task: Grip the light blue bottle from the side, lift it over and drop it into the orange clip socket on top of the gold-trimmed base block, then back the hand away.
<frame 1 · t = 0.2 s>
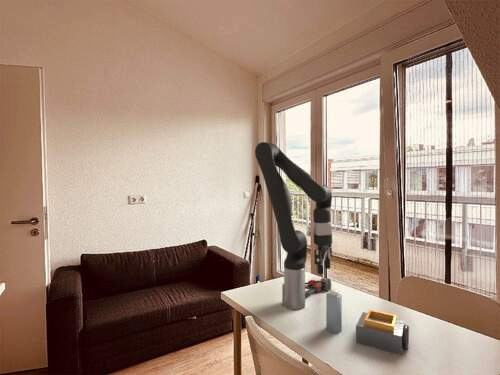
hand: (324, 271, 124), 18 cm above the table, tool pointing down, fingers open, 8 cm apart
valve: (310, 292, 149), on the table
gold-trimmed base block: (380, 340, 103), on the table
light blue bottle: (333, 329, 110), on the table
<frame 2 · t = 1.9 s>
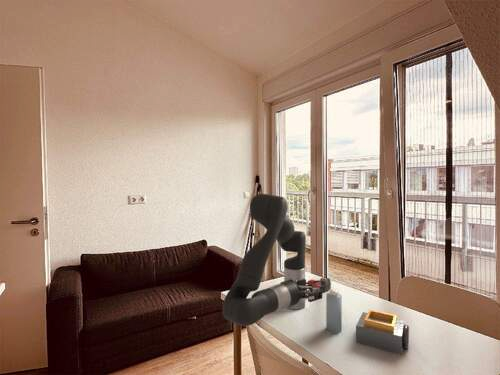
hand: (314, 285, 103), 19 cm above the table, tool horizontal, fingers open, 8 cm apart
nothing on the table moved.
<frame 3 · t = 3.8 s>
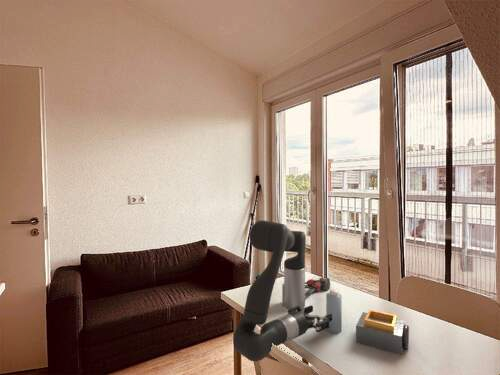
hand: (321, 312, 106), 8 cm above the table, tool horizontal, fingers open, 8 cm apart
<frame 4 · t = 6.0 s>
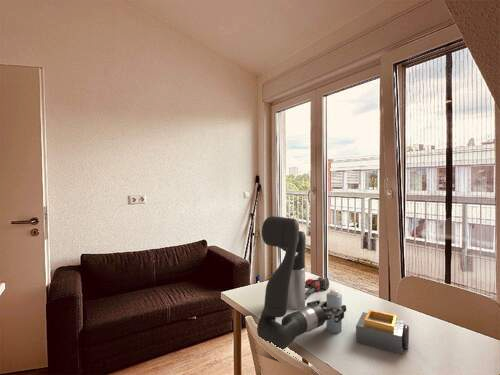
hand: (337, 305, 112), 9 cm above the table, tool horizontal, fingers closed on light blue bottle, 5 cm apart
light blue bottle: (333, 329, 110), on the table, touching gripper
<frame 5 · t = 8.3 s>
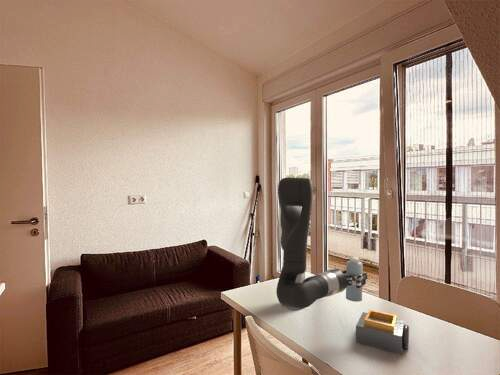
hand: (358, 273, 107), 22 cm above the table, tool horizontal, fingers closed on light blue bottle, 5 cm apart
light blue bottle: (353, 298, 106), point 13 cm above the table, touching gripper
when the fingers open (15 cm above the table, at t = 10.9 s): light blue bottle stays where it is, resting on gold-trimmed base block.
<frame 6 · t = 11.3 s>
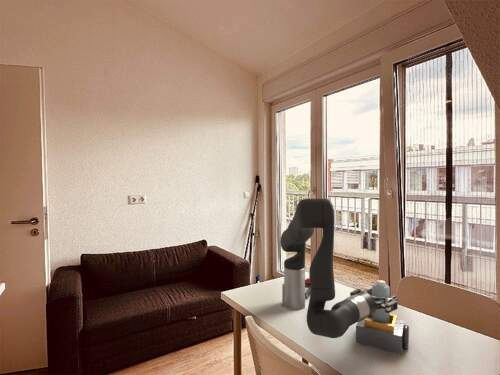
hand: (383, 294, 104), 15 cm above the table, tool horizontal, fingers open, 8 cm apart
light blue bottle: (380, 323, 103), point 6 cm above the table, touching gold-trimmed base block
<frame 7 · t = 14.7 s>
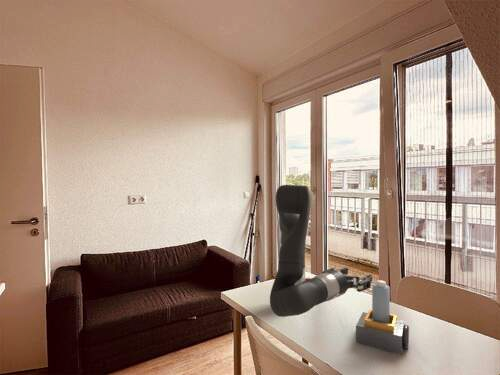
hand: (358, 273, 97), 25 cm above the table, tool horizontal, fingers open, 8 cm apart
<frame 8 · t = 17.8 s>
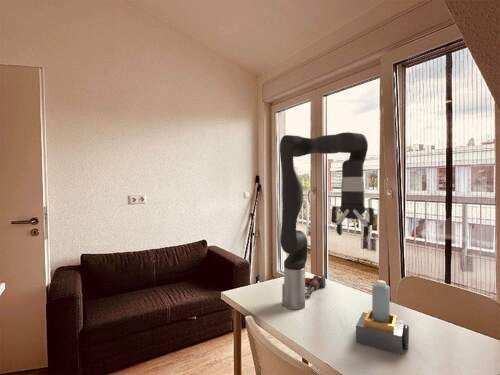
hand: (352, 235, 104), 36 cm above the table, tool pointing down, fingers open, 8 cm apart
at the end: light blue bottle 0.2 cm off-centre on the gold-trimmed base block, point 6.0 cm above the gold-trimmed base block's base; light blue bottle tilted 0°; the gripper is holding nothing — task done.
